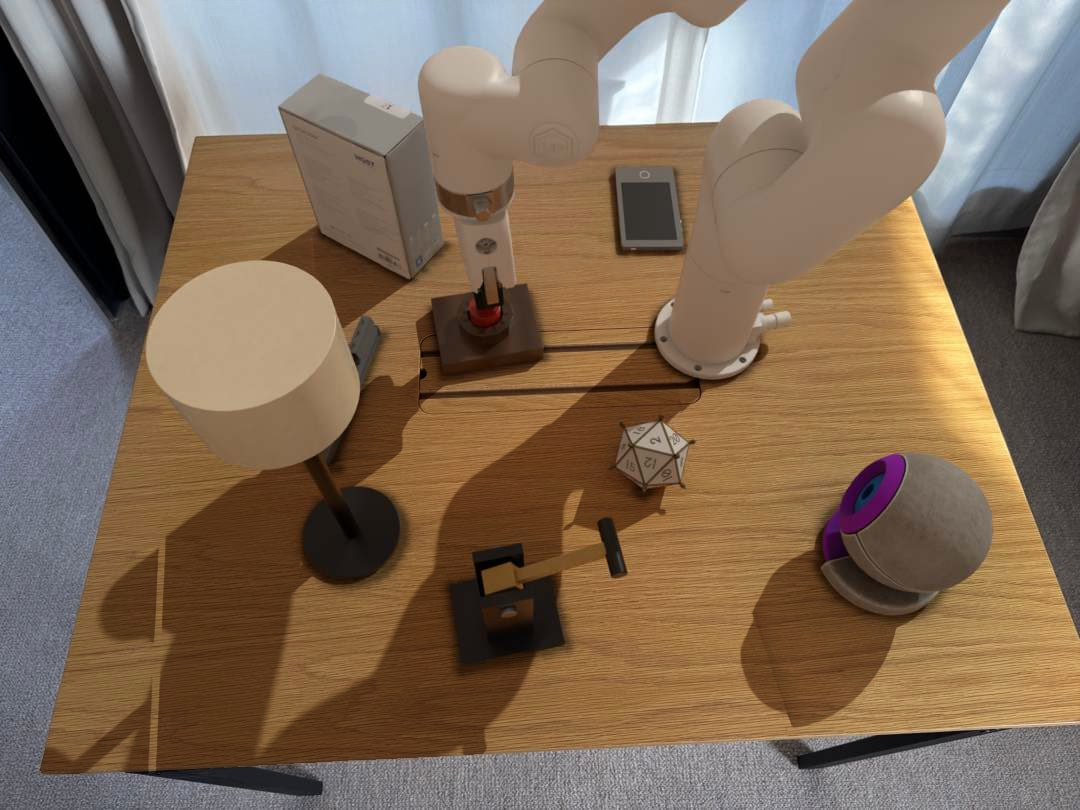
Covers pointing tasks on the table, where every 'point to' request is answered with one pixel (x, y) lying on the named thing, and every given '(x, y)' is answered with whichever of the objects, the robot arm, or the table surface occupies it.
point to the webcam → (906, 533)
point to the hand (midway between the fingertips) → (489, 302)
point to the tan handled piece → (559, 563)
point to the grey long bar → (358, 363)
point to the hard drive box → (365, 172)
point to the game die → (652, 454)
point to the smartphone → (648, 208)
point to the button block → (486, 332)
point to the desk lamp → (273, 394)
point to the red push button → (484, 315)
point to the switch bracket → (504, 612)
